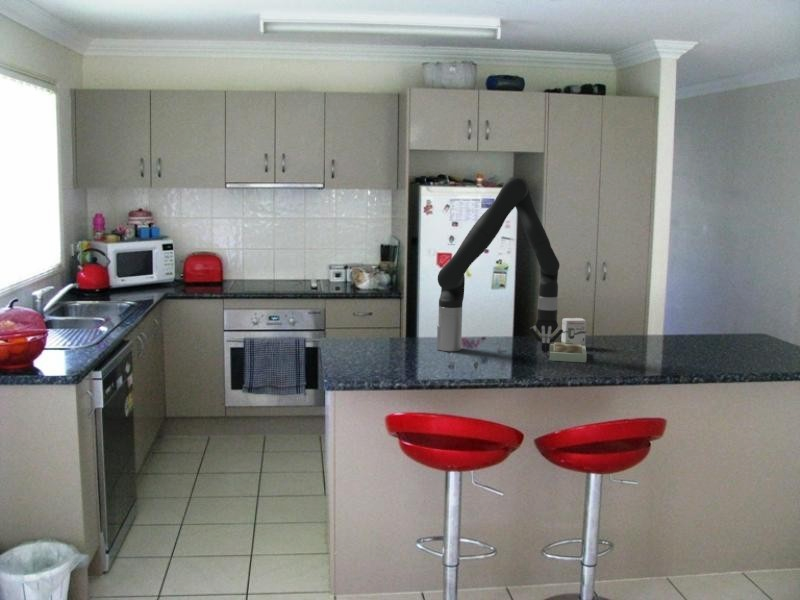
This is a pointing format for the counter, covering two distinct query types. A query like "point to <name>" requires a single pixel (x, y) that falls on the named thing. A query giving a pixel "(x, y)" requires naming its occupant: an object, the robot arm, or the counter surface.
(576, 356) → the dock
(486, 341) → the counter surface
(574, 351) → the t block
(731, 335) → the counter surface
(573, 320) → the ink box
